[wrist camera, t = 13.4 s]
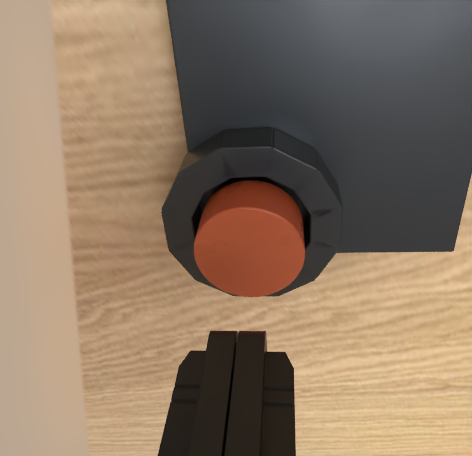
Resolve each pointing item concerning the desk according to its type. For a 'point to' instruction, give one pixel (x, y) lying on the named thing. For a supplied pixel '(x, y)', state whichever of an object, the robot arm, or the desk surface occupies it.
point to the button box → (327, 119)
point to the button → (250, 239)
